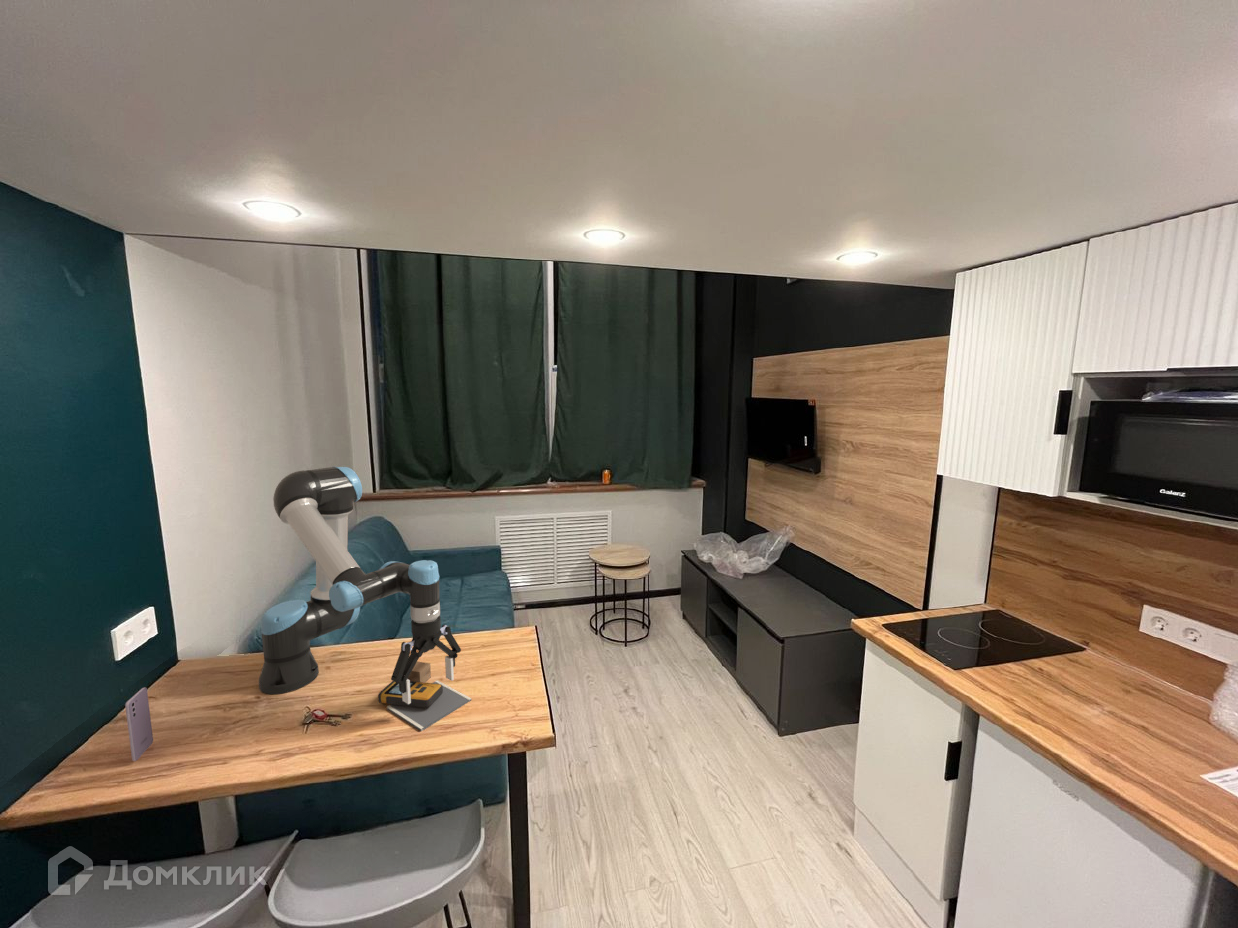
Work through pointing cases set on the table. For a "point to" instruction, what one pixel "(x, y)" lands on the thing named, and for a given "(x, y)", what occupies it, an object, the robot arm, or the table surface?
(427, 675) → the walnut block
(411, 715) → the mat
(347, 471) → the robot arm
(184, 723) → the table surface
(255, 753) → the table surface
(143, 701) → the smartphone
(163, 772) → the table surface
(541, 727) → the table surface
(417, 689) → the electronic device
